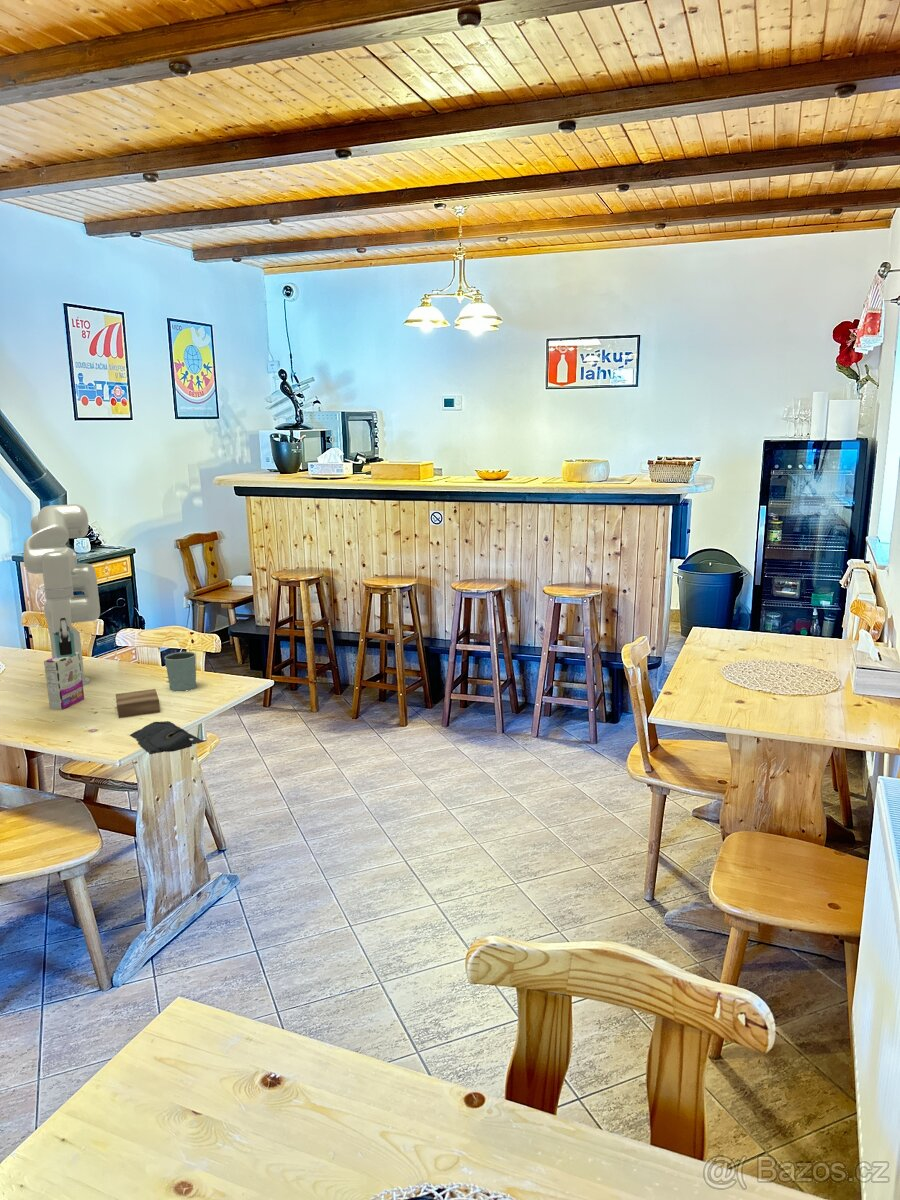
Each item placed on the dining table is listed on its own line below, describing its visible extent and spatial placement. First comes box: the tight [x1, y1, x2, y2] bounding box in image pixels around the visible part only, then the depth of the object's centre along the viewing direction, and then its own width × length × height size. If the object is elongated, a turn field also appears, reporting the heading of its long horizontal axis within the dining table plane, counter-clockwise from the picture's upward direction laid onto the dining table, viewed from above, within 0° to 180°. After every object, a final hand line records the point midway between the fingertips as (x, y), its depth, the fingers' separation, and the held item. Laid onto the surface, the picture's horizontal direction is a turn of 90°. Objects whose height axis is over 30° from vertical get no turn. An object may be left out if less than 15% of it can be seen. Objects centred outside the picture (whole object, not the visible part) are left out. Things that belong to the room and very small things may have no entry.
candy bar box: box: [43, 652, 85, 711], centre depth 257 cm, size 11×5×16 cm, turn 168°
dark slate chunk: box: [129, 720, 203, 755], centre depth 226 cm, size 15×22×5 cm
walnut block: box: [115, 688, 161, 719], centre depth 252 cm, size 12×12×5 cm
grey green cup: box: [164, 651, 197, 692], centre depth 273 cm, size 10×10×12 cm
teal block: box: [53, 630, 76, 658], centre depth 238 cm, size 5×5×7 cm
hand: (65, 651), depth 239 cm, fingers closed on teal block, 5 cm apart
